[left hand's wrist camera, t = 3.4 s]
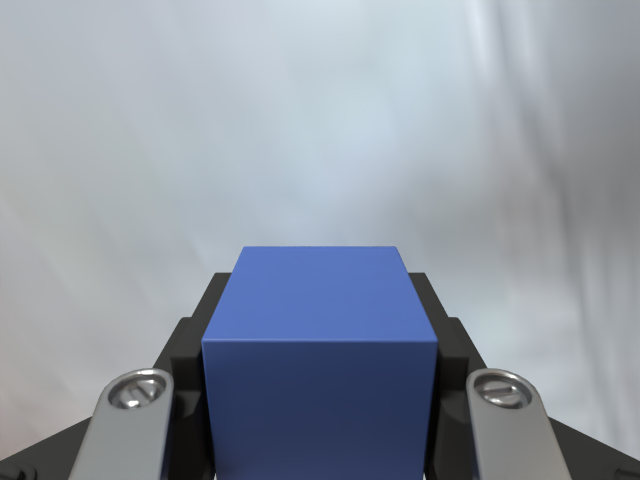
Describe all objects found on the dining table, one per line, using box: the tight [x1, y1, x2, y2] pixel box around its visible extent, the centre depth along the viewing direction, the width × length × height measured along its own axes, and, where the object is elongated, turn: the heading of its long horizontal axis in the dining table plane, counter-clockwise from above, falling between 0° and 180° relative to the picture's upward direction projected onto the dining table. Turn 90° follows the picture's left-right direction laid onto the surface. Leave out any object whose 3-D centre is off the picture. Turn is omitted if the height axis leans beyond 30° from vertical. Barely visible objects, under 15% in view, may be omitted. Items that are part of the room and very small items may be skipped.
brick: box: [201, 247, 438, 480], centre depth 10 cm, size 4×4×4 cm
